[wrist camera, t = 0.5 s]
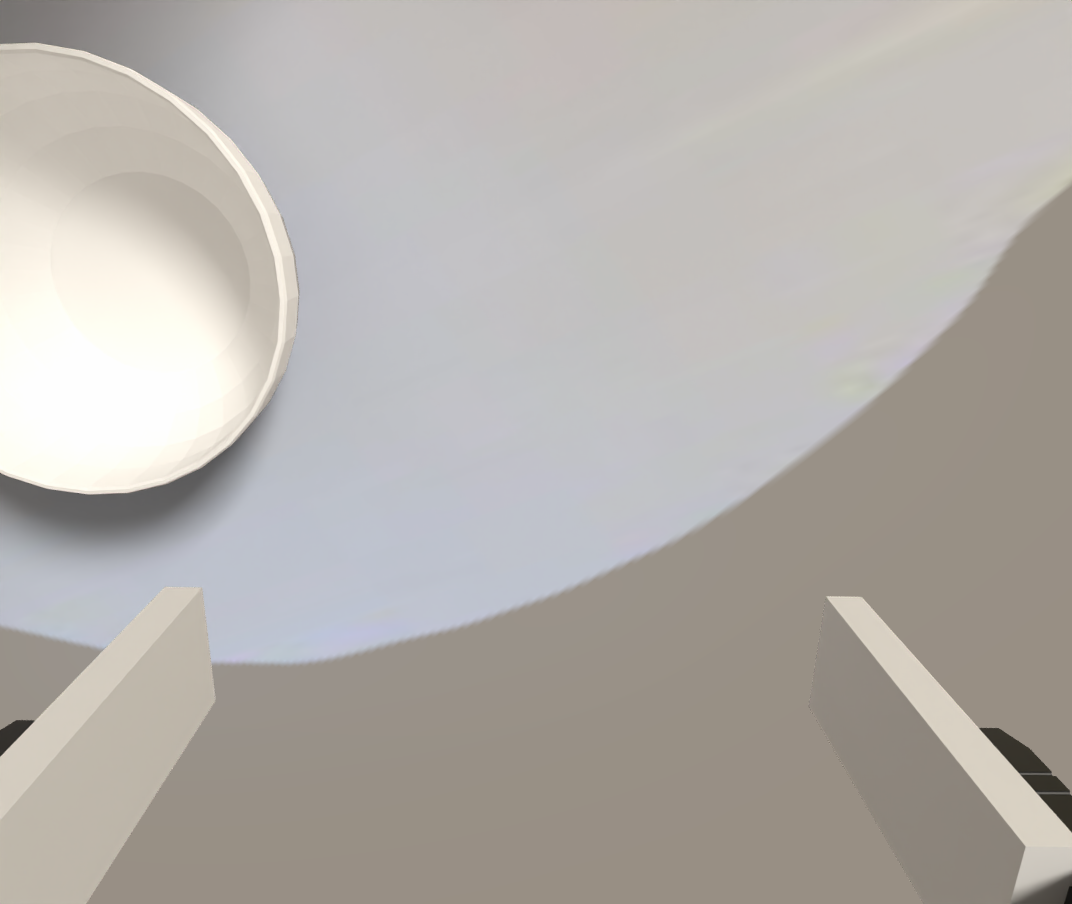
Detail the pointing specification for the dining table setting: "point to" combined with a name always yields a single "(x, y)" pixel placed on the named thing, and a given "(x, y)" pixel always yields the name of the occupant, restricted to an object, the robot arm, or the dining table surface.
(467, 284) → the dining table surface
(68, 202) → the bowl
